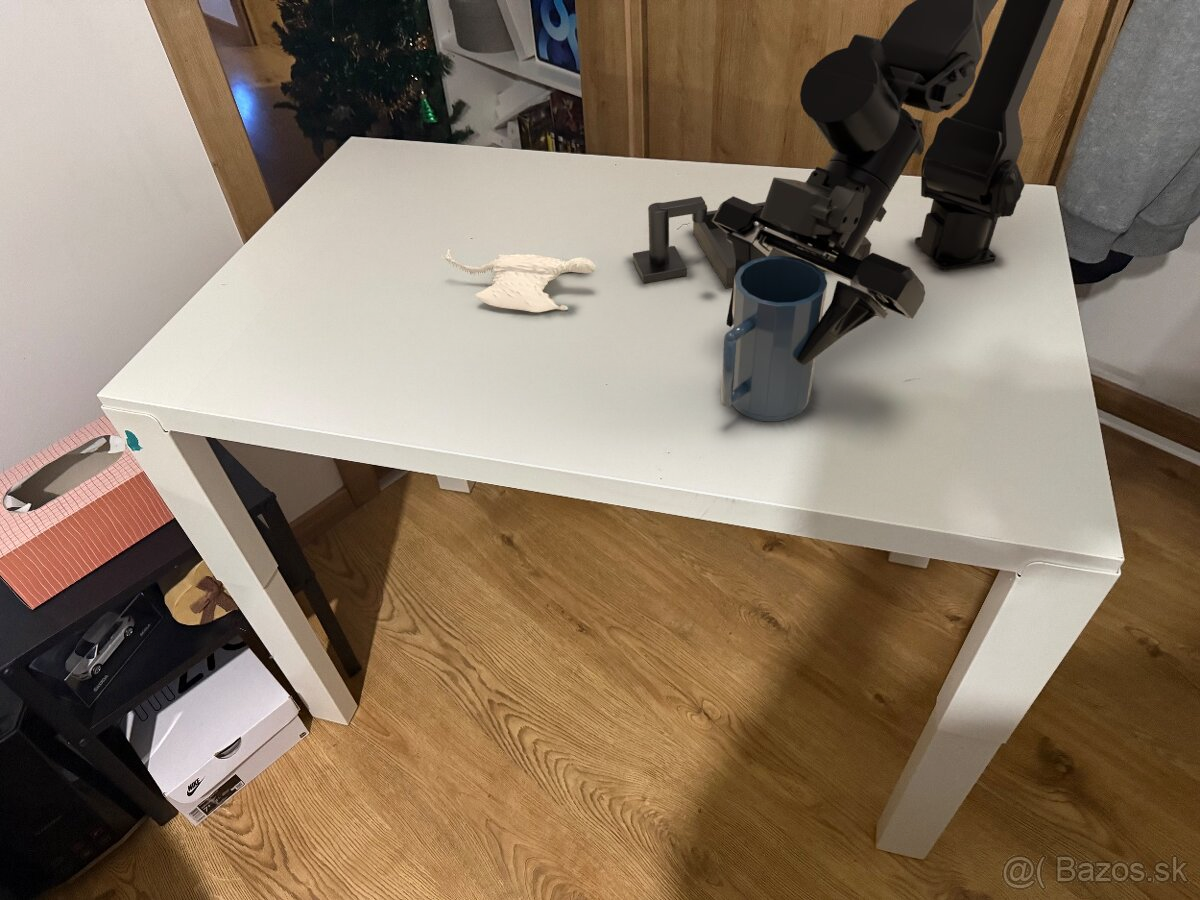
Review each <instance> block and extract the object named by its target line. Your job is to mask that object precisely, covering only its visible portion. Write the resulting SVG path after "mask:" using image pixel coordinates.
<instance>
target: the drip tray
mask: <svg viewBox="0 0 1200 900" xmlns="http://www.w3.org/2000/svg"><path fill="white" fill-rule="evenodd" d="M753 204H754V205H756V206H759V207H761V208H763V207H764V204H765V201H762V202H757V203H753ZM717 210H718V209H715V210H707V220H706V221H705V222H703V223H695V222H693V221H692V222H693V223H692V225H693V226H692V233H693V236H694V237H695V238H696V240H697V243H698V244H699V246H700V247H701V249H702V250H703V253H704V255H706V257H707V259H708V261H709V263H710V264H711V265H712V268H713V269H714V270H715V272H716V274H717V276H718V278H719V279H720V281H721V282H722V284H723V286H724V287H725V289H730V288H733V283H734V276H735V263H736V260H735V253H734V248H733V245H732V244H731V243H730V242H729V241H727V240H726V234H727V233H725V232H724V231H723V230H722V229H721V228H719V227H718V226H717V225H716V224H715V223H713V222H712V219H713V217H714V215H715V213H716V212H717ZM779 224H780V225H781V226H782V228H784V229H786V230H789V231H790V228H789V227H788V226H786V225H783V224H781V223H779ZM871 247H872V242H871V241H870V240H869V238H868V237H866V236H865V237H864V239H863V241H862V242H861V244H860V246H859V248H858V249H857V251H858V252H859V253H860V254H861V257H860V258H859V260H861V261H862V260H863V259H864V258H865V257H867V256H868V255H870V254H871ZM798 248H799V249H801V250H803V248H800V247H798ZM805 250H806V249H805ZM769 256H788V257H793V256H791V255H789V254H786V253H784V252H782V251H779V250H777V249H775V250H773V251H771V252H770V254H769ZM794 258H795V257H794ZM835 259H836V258H835V257H833V256H830V257H829V260H832V261H833V262H834V260H835ZM818 268H819V267H818ZM819 269H820V270H821V271H822V272H826V271H825V270H823V269H821V268H819Z"/></svg>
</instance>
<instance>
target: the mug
mask: <svg viewBox="0 0 1200 900" xmlns="http://www.w3.org/2000/svg"><path fill="white" fill-rule="evenodd" d="M827 288H828V281H827V278H826V274H825V272H824V271H821V270H820V269H819V268H818V267H817V266H816V265H814V264H812V263H810V262H807V261H805V260H803V259H800V258H794V257H788V256H767V257H762V258H759V259H755V260H752V261H750V262H748V263H746V264H745V265H743V266H742V267H740V268H739V270H738V272H737V273H736V275H735V277H734V293H733V309H732V326H731V327H730V330H728V331H727V332H725V334H724V336H723V349H722V350H723V352H722V353H723V354H722V371H721V391H720V404H721V405H722V406H723V407H724V408H729V407H731V406H732V407H733V408H734V409H735V410H736V411H737V412H739V413H740V414H742V415H744V416H745V417H747V418H750V419H753V420H756V421H761V422H780V421H786V420H789V419H792V418H794V417H796V416H798V415H799V414H801V413H802V412H804V410H805V409H806V408H807V406H808V404H809V401H810V396H811V393H812V386H813V381H814V380H813V379H814V373H815V366H816V360H817V356H816V357H815V358H814V359H812V360H811V361H810V362H808V363H807V364H806V365H802V364H800V363H799V362H798V361H797V360H798V357H799V355H800V353H801V351H802V349H803V347H804V345H805V343H806V342H807V340H808V339H809V337H810V335H811V334H812V332H813V331H814V329H815V328H816V326H817V325H818V323H819V321H820V320H821V318H822V317H823V315H824V307H825V301H826V294H827Z"/></svg>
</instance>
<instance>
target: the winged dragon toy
mask: <svg viewBox="0 0 1200 900" xmlns="http://www.w3.org/2000/svg"><path fill="white" fill-rule="evenodd" d="M497 256H498V258H495V259H492V260H491V261H489V262H488V263H486V264H484V265H482V266H471V265H467V264H463V263H460V262H459V261H456V260H454V259H453V258H452V254H451V253H450V249H448V250H447V251H446V252H445V256H444V255H442V258H443V260H444V259H445V260H446V261H447V262H448V263H449V264H452V267H453V268H454V267H455V268H456V269H458V268H459V269H460V270H462V271H464V272H465V273H469V274H470V276H472V274H474V276H477V275H478V276H479V275H482V274H486V272H488V271H491V273H493V272H494V276H493V277H492V278H491V279H492V280H491V281H492V283H491V285H490V286H487V288H485V289H483V290H481V291H479V292H476V293H475V297H476V298H477V299H479V300H480V301H481V302H483V303H484V304H486V305H489V306H491V307H496V308H500V309H501V308H503V309H509V310H520V311H526V312H531V313H541V312H547V311H553V310H560V311H568V310H569V309H570V308H569V307H568V306H566V305H565V304H559V306H558V305H557V304H556V302H555V300H554V299H552V298H550V296H549V293H546V292H543V291H544V289H545V287H546V285H549V283H548V282H550V281H552V280H555V279H557V278H558V277H559V276H560V275H561V274H563V273H570V272H572V273H577V274H591V273H593V272H594V271H595V270H596V268H597V267H596V266H595V264H594V262H592V260H591V259H588V258H586V257H580V256H576V257H574V258H573V257H572V258H571V259H570V260H562V259H559V258H558V257H550V256H541V255H539V254H529V253H527V254H517V253H514V254H513V255H511V254H498V255H497Z"/></svg>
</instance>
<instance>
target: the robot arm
mask: <svg viewBox="0 0 1200 900" xmlns="http://www.w3.org/2000/svg"><path fill="white" fill-rule="evenodd" d="M1064 1H1065V0H1005V2H1004V5H1003V8H1002V10H1001V13H1000V15H999V19H998V21H997V24H996V26H995V29H994V32H993V34H992V37H991V40H990V43H989V45H988V48H987V50H986V53H985V55H984V58H983V60H982V63H981V66H980V68H979V71H978V73H977V76H976V70H977V67H978V65H979V63H980V61H981V59H982V57H983V28H984V26H985V24H986V22H987V20H988V18H989V17H990V14H991V13H992V11H993V9H994V8H995V7H996V4H997V3H998V2H999V0H913V2H911V3H909V4H908V5H906V6H905V7H903V9H901V11H900V12H899V14H898V15H897V16H896V18H895V19H894V21H893V22H892V23H891V25H890V26H889V28H887V30H886V31H885V33H884V34H883V36H882V37H881V38H877V37H872V36H868V35H864V34H860V33H855V34H854V35H853V37H852V39H851V40H850V42H849V44H848V46H847V47H843V48H840V49H837V50H834V51H832V52H830V53H828V54H827V55H825V56H824V57H822V58H821V59H820V60H818V62H816V64H815V65H814V66H813V67H810V68H809V70H808V71H807V72H806V74H805V76H804V79H803V81H802V83H801V85H800V92H799V98H800V104H801V107H802V110H803V112H804V113H805V114H806V115H807V116H808V118H809V119H810V121H811V122H812V123H813V125H814V126H815V127H816V129H817V131H818V132H819V133H820V135H821V136H822V137H823V138H824V139H825V141H826V142H827V144H828V145H829V147H831V149H832V150H834V151H833V153H832V155H831V157H830V158H829V160H828V162H827V164H826V165H825V168H822V167H819V166H816V167H815V169H814V170H812V171H811V173H810V174H809V175H808V178H807V179H806V181H801V180H798V179H797V180H796V179H790V178H783V177H775V176H774V177H773V178H772V181H771V184H770V187H769V190H768V193H767V196H766V198H765V201H764V202H765V204H764V207H763V208H761V207H759V206H756V205H754V204H755V203H751V202H748V201H746V200H744V199H742V198H739V197H736V196H731V197H730V198H728V199H726V200H724V201H722V202H721V203H720V204H719V206H718V208H717V209H716V210H717V212H716V213H715V215H714V217H713V219H712V222H713V223H715V224H716V225H717V226H718V227H719V228H721V229H722V230H723V231H724V232H725V233H727V234H726V240H727V241H729V242H730V243H731V244H732V245H733V248H734V253H735V260H736V263H735V275H736V273H737V272H738V270H739V268H740V267H742V266H743V265H745V264H746V263H748V262H750V261H752V260H755V259H759V258H762V257H767V256H769V254H770V252H771V251H773V250H775V249H777V250H779V251H782V252H784V253H786V254H789V255H791V256H793V257H795V258H800V259H803V260H805V261H807V262H810V263H812V264H814V265H816V266H817V267H819V268H821V269H823V270H825V271H824V272H828V273H830V274H833V275H834V276H837V277H840V278H842V279H845V280H846V281H849V282H850V284H847V283H845V282H842V281H840V280H837V281H836V284H835V288H834V291H833V295H832V299H831V302H830V304H829V305H828V308H827V309H826V310H825V312H824V313H823V315H822V318H821V320H820V321H819V323H818V325H817V326H816V328H815V329H814V331H813V332H812V334H811V335H810V337H809V339H808V340H807V342H806V343H805V345H804V347H803V349H802V351H801V353H800V355H799V357H798V360H797V361H798V362H799V363H800V364H802V365H806V364H807V363H808V362H810V361H811V360H812V359H814V358H815V357H816V358H817V357H818V356H819V355H820V354H821V353H823V352H825V350H827V349H828V348H830V347H831V346H832V345H833V344H835V343H836V342H838V341H839V340H840V339H841V338H843V337H844V336H846V335H847V334H849V333H850V332H852V331H853V330H855V329H857V328H858V327H860V326H862V325H863V324H865V323H866V322H868V321H870V320H871V319H873V318H875V317H878V318H881V319H883V320H885V319H886V318H887V317H888V315H889V313H888V312H887V310H889V311H892V312H893V313H896V314H897V315H900V316H901V317H902V316H903V317H905V318H907V319H910V320H914V318H915V316H916V315H917V313H918V311H919V309H920V308H921V306H922V304H923V303H924V300H925V297H926V289H925V285H924V283H923V282H922V281H921V280H920V278H919V277H918V275H917V274H916V273H915V272H914V270H913V269H912V268H911V267H910V266H908V265H905V264H902V263H901V262H898V261H895V260H892V259H890V258H887V257H885V256H882V255H880V254H878V253H875V252H870V253H869V255H868V256H867V257H865V258H864V259H863V260H862V261H861V260H859V258H860V257H861V254H860V253H859V252H858V251H857V249H858V248H859V246H860V244H861V242H862V241H863V239H864V237H866V235H867V234H868V232H869V230H870V228H871V227H872V225H873V223H874V222H875V221H876V222H879V223H881V222H882V220H883V219H884V217H885V216H886V214H887V210H886V208H885V207H884V204H885V203H886V201H887V199H888V198H889V196H890V194H891V192H892V190H893V189H894V187H895V185H896V184H897V183H898V180H899V178H901V177H900V176H901V175H902V173H903V171H904V169H905V168H906V166H907V164H908V163H909V161H910V160H911V158H912V156H913V155H916V156H920V155H922V154H923V152H924V148H925V139H924V136H923V125H924V122H923V120H921V119H918V118H914V117H913V115H912V114H911V113H910V112H909V111H908V110H907V109H905V108H903V107H902V106H903V105H904V106H905V105H906V106H908V107H912V108H916V109H918V110H919V109H920V110H922V111H927V112H930V113H934V114H940V113H941V112H943V111H949V110H950V109H952V108H953V107H954V106H955V105H956V103H959V102H960V101H961V100H962V99H963V98H965V97H966V95H967V93H968V91H969V90H970V88H971V87H972V86H973V87H972V89H971V92H970V95H969V97H968V99H967V101H966V103H964V104H963V105H962V106H961V107H960V108H958V110H957V111H956V112H955V113H953V114H952V115H950V117H949V116H945V117H943V119H942V120H941V121H940V122H939V123H938V125H937V127H936V129H935V133H934V134H935V135H934V137H933V140H932V143H931V144H930V145H929V147H928V148H927V149H926V151H925V154H924V156H923V159H922V162H921V167H920V168H921V174H920V180H921V181H920V197H923V198H925V199H926V198H928V199H932V203H931V207H930V211H929V212H927V213H926V215H925V219H924V223H923V227H922V232H921V235H920V236H917V237H915V238H914V244H915V245H916V246H917V247H918V248H919V249H920V250H921V252H923V253H924V254H925V256H927V258H929V260H930V261H931V262H932V263H933V264H934V265H935V266H936V267H937V268H938V269H940V270H941V271H949V270H954V269H961V268H965V267H971V266H977V265H982V264H987V263H993V262H996V260H997V255H996V254H995V253H994V251H992V250H991V249H990V246H991V243H992V240H993V236H994V233H995V229H996V226H997V224H998V220H999V219H1000V218H1007V217H1012V216H1013V215H1014V212H1015V209H1016V206H1017V203H1018V202H1019V200H1020V199H1021V197H1022V193H1023V191H1024V187H1025V182H1024V178H1023V176H1022V174H1021V171H1020V168H1019V165H1018V163H1017V162H1018V159H1019V157H1020V153H1021V151H1022V149H1023V145H1024V140H1023V133H1022V128H1021V121H1020V114H1019V112H1020V108H1021V106H1022V103H1023V101H1024V98H1025V96H1026V93H1027V92H1028V90H1029V89H1028V88H1029V86H1030V84H1031V82H1032V78H1033V76H1034V74H1035V72H1036V69H1037V67H1038V64H1039V62H1040V60H1041V57H1042V54H1043V52H1044V50H1045V47H1046V45H1047V43H1048V40H1049V38H1050V35H1051V33H1052V30H1053V28H1054V25H1055V23H1056V21H1057V18H1058V16H1059V13H1060V11H1061V10H1062V9H1061V8H1062V6H1063V4H1064ZM779 223H781V224H783V225H786V226H788V227H789V228H790V231H789V230H786V229H784V228H782V226H781V225H780V224H779ZM798 247H800V248H803V250H801V249H799V248H798ZM805 249H806V250H805ZM830 256H833V257H835V258H836V259H835V260H834V262H833V261H832V260H829V257H830ZM734 277H735V276H734ZM733 293H734V283H733V287H732V289H731V295H730V301H729V306H728V312H727V316H726V326H727V327H729V328H731V326H732V309H733Z"/></svg>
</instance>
